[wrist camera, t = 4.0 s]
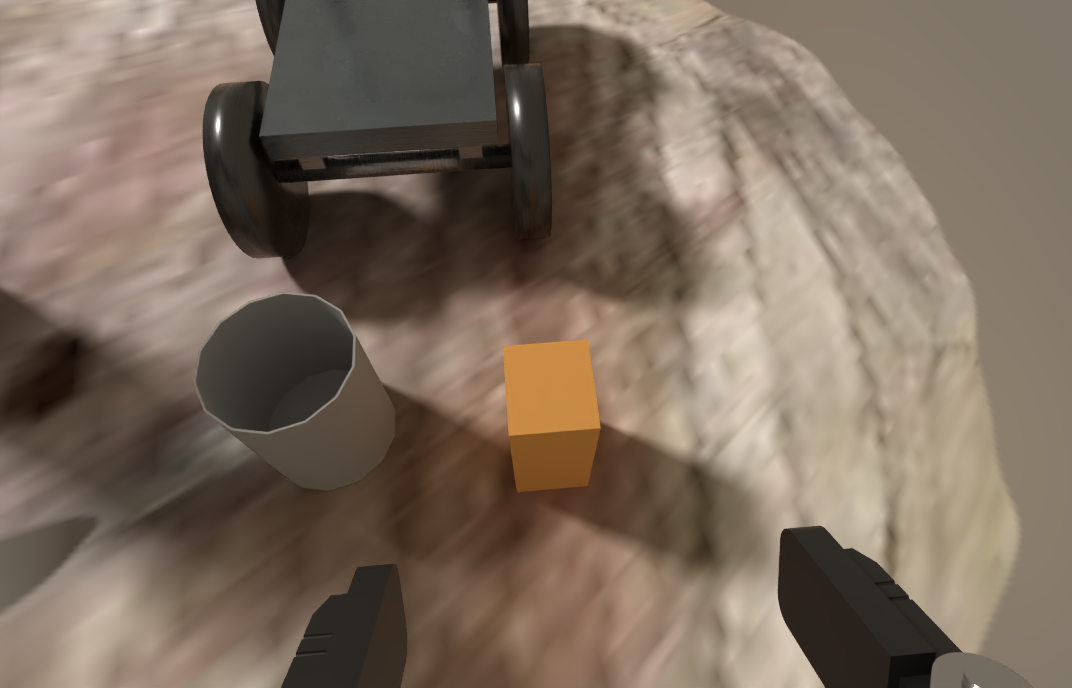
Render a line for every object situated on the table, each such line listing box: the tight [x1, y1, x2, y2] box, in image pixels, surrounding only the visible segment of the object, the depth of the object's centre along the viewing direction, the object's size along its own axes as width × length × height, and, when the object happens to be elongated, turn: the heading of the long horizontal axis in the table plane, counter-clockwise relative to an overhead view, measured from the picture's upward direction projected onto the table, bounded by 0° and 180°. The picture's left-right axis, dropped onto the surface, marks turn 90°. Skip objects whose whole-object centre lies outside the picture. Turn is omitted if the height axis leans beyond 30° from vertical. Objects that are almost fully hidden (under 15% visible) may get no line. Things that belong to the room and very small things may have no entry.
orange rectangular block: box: [503, 340, 601, 492], centre depth 36 cm, size 5×4×10 cm
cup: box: [193, 292, 395, 491], centre depth 36 cm, size 8×8×10 cm
